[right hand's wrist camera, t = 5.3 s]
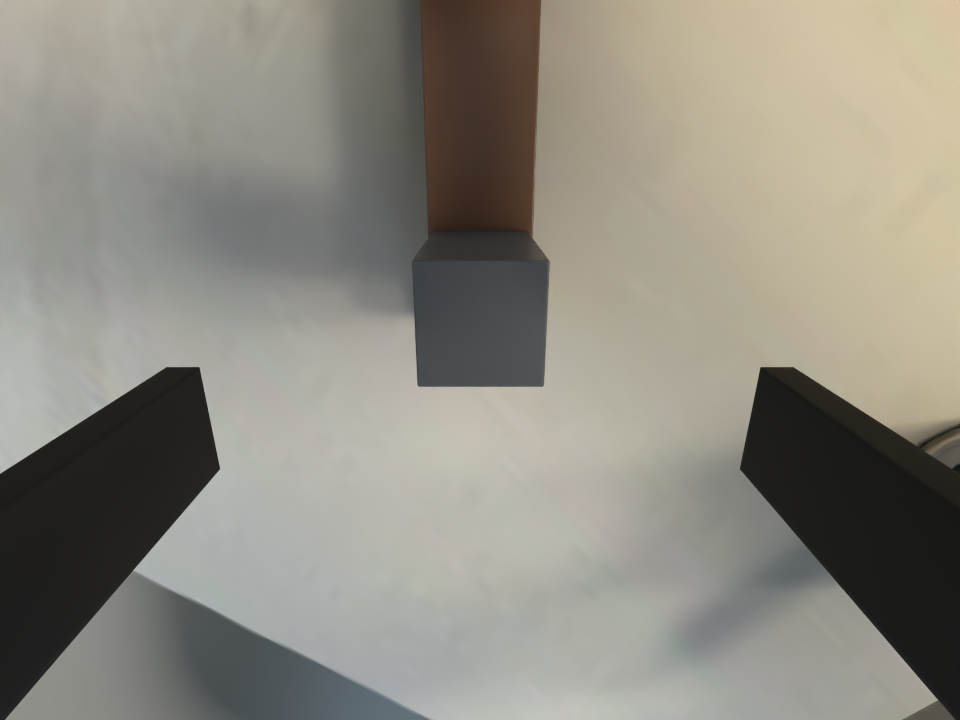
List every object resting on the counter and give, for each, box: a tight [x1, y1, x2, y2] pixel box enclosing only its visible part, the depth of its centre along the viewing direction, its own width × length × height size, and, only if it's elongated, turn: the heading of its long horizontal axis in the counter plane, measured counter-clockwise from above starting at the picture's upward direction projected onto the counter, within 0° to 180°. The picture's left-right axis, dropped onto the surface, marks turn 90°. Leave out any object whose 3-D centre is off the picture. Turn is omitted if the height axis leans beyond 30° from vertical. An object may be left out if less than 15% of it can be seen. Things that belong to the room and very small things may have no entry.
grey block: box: [412, 231, 550, 387], centre depth 24 cm, size 5×5×9 cm
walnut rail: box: [420, 0, 541, 238], centre depth 28 cm, size 6×26×6 cm, turn 0°
